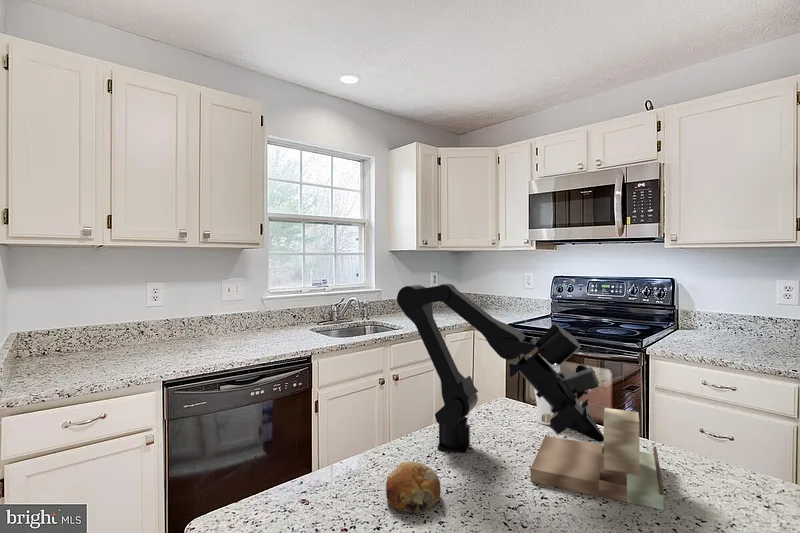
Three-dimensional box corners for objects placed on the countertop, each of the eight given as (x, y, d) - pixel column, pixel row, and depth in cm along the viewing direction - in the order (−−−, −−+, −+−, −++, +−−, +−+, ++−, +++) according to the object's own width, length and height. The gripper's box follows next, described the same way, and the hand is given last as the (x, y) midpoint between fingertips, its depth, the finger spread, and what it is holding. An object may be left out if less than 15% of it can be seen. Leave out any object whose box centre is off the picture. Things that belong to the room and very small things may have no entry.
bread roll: (443, 514, 80) (447, 466, 83) (430, 518, 71) (435, 464, 74) (393, 504, 83) (398, 459, 86) (374, 507, 74) (381, 456, 77)
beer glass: (565, 425, 113) (564, 368, 113) (538, 425, 113) (537, 368, 113) (555, 416, 120) (555, 362, 120) (530, 416, 120) (530, 362, 120)
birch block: (603, 469, 84) (603, 417, 84) (605, 456, 89) (604, 407, 89) (639, 475, 81) (639, 422, 81) (638, 462, 86) (638, 412, 86)
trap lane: (530, 481, 84) (530, 460, 84) (545, 446, 100) (545, 429, 100) (663, 510, 74) (663, 486, 74) (656, 466, 90) (656, 446, 90)
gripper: (568, 363, 81) (636, 433, 76) (577, 346, 97) (634, 402, 92) (524, 400, 84) (587, 469, 79) (541, 377, 101) (593, 433, 96)
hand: (602, 440), depth 86 cm, fingers closed
